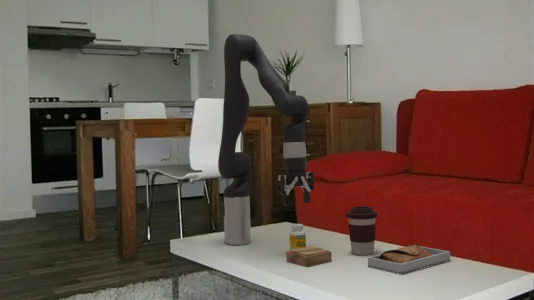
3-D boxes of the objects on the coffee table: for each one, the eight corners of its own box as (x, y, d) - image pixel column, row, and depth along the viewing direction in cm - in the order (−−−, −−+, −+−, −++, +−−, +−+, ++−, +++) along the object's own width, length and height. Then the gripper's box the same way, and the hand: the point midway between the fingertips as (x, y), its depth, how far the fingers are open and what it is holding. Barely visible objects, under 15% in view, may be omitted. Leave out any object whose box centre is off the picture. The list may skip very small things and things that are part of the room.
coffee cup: (341, 253, 196) (340, 208, 195) (358, 248, 203) (357, 204, 202) (367, 257, 189) (365, 210, 188) (384, 252, 196) (382, 206, 196)
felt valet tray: (368, 266, 178) (367, 257, 178) (416, 254, 192) (416, 245, 191) (401, 274, 168) (401, 264, 168) (450, 260, 182) (450, 251, 181)
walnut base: (286, 261, 188) (286, 250, 188) (310, 256, 194) (309, 245, 194) (307, 267, 180) (307, 255, 180) (331, 261, 186) (331, 250, 186)
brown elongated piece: (402, 268, 171) (392, 246, 173) (385, 276, 175) (376, 255, 178) (438, 257, 182) (429, 237, 185) (422, 265, 187) (412, 245, 189)
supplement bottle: (299, 250, 203) (299, 222, 202) (309, 253, 198) (308, 224, 198) (287, 253, 200) (286, 224, 199) (296, 256, 195) (295, 226, 195)
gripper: (303, 154, 205) (305, 201, 205) (270, 157, 196) (272, 206, 197) (318, 154, 199) (320, 203, 199) (285, 157, 190) (287, 208, 191)
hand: (296, 204), depth 198 cm, fingers open, 8 cm apart
